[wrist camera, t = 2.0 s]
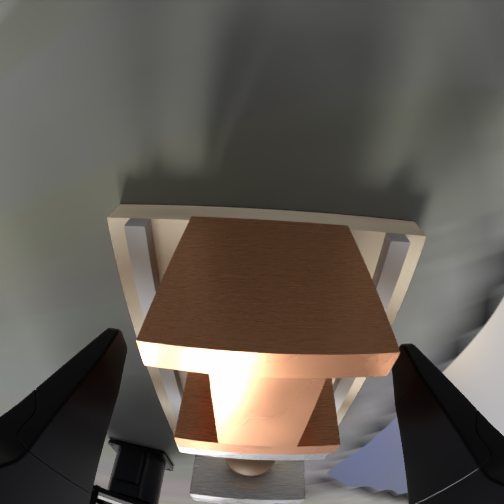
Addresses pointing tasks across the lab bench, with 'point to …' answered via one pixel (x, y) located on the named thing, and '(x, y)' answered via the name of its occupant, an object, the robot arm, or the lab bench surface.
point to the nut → (249, 466)
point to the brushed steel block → (247, 483)
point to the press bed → (177, 217)
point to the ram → (265, 335)
